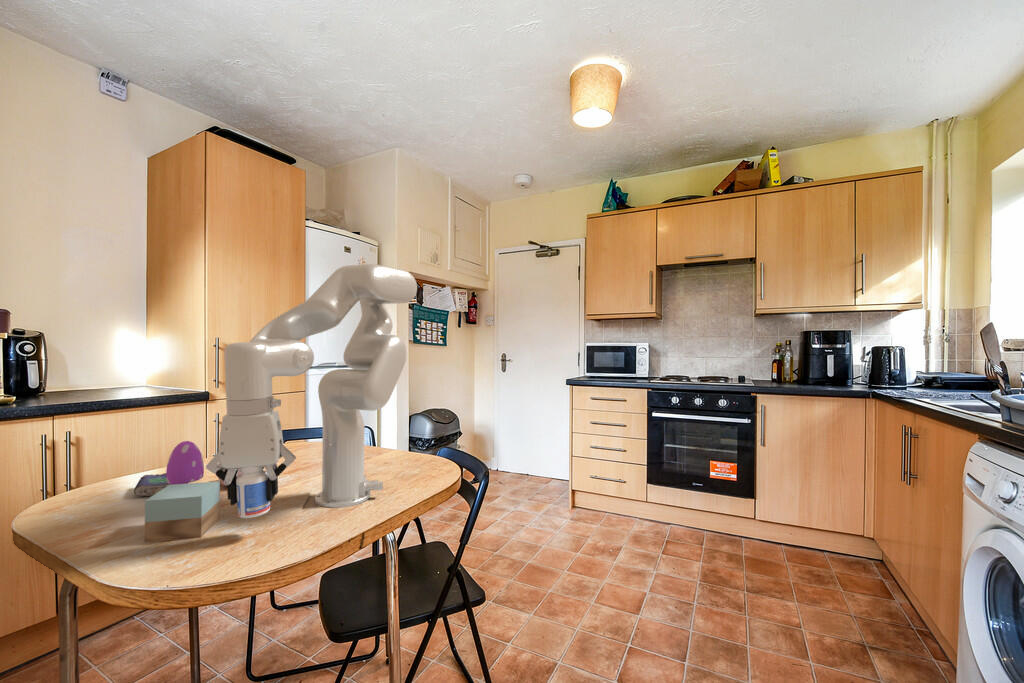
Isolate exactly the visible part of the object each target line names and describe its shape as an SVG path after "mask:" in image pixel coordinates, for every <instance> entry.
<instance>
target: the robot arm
mask: <svg viewBox="0 0 1024 683" xmlns="http://www.w3.org/2000/svg"><path fill="white" fill-rule="evenodd" d="M417 284H418V283H417V280H416V278H415V277H414V276H413V274H411V273H410V272H409V271H406V270H404V269H398V268H394V267H389V266H385V265H382V264H375V263H366V264H353V265H344V266H341V267H339V268H337V269H336V270H335V271H334V272H333V273H331V275H330V276H329V277H327V279H326V280H324V282H323V283H322V284H321V285H320V286H319V287H318V288H317V289H316V291H314V293H312V294H311V296H310V297H308V298H307V299H306V300H304V302H301V303H299V304H298V305H296V306H294V307H292V308H291V309H288V310H287V311H285V312H284V313H282V314H279V315H278V316H277V317H275V318H273V319H272V320H271V321H269V322H268V323H266V324H265V325H264V326H263V327H262V328H261V329H260V330H259V331H258V332H257V333H256V334H255V335H254V336H253V337H252V338H251V339H250V340H249V341H242V342H232V343H229V344H228V345H226V346H225V347H224V348H225V349H224V374H225V376H224V378H225V398H226V400H225V401H226V405H225V406H226V414H224V416H222V420H221V424H220V433H219V440H218V452H217V453H216V454H214V456H213V458H211V459H210V461H209V462H207V464H206V465H205V468H206V470H208V471H209V472H211V473H213V474H214V475H215V476H216V477H217V478H218V477H219V478H220V479H222V480H223V481H224V483H225V484H226V485H227V486H226V488H227V490H226V491H227V500H229V502H230V506H235V505H237V491H236V479H237V474H238V471H239V469H241V468H245V467H263V466H264V470H265V471H266V472H267V474H268V476H269V477H268V481H267V483H266V484H267V501H270V502H272V501H273V500H274V498H275V496H276V495H278V493H279V481H278V480H279V479H278V478H279V476H281V474H282V473H283V472H284V471H285V470H286V469H287V468H288V467H289V466H290V465H291V464H293V463H294V462H295V461H296V459H297V457H296V455H295V454H294V453H293V452H292V451H291V450H290V449H288V447H286V446H285V445H284V438H283V429H282V423H281V420H280V415H279V412H278V410H274V409H275V408H277V407H281V405H282V400H281V399H277V398H275V397H274V395H273V377H274V378H275V377H296V376H300V375H303V374H305V373H306V372H308V371H309V370H310V369H311V368H312V366H313V363H314V360H315V356H314V355H315V354H314V352H313V349H312V347H311V346H310V345H308V344H307V343H306V342H303V341H301V340H303V339H305V338H308V337H311V336H314V335H317V334H318V335H319V334H321V333H324V332H326V331H329V330H332V329H334V328H336V327H337V326H339V324H340V323H341V322H343V319H345V317H346V316H347V315H348V314H349V313H350V311H351V310H352V309H353V308H354V306H355V305H356V304H357V303H358V302H359V304H360V309H361V318H360V320H359V322H358V325H357V327H356V329H355V330H354V331H353V333H352V336H351V337H350V339H349V341H348V342H347V345H346V347H345V349H344V351H343V358H342V359H343V362H344V364H345V365H346V366H347V367H348V369H347V368H339V369H333V370H330V371H328V372H326V373H325V374H324V375H323V376H322V377H321V378H320V381H319V383H318V387H317V389H318V391H317V394H318V398H319V404H320V408H321V410H320V411H321V416H322V418H321V419H322V420H321V421H322V451H321V452H322V455H321V456H322V465H321V466H322V467H321V468H322V469H321V471H322V472H321V473H322V476H321V481H322V485H321V491H320V492H318V493H317V494H316V495H315V497H314V503H315V504H316V505H317V506H320V507H324V508H329V507H330V508H331V509H332V508H333V509H334V508H335V509H337V508H348V506H349V507H353V505H354V506H357V505H360V504H363V503H364V501H365V502H366V501H368V499H370V497H371V491H382V490H384V489H383V488H384V481H379V480H378V479H374V480H369V479H367V474H366V475H365V434H366V432H365V429H366V428H365V421H364V419H363V415H362V413H361V411H370V412H372V411H373V412H375V411H379V410H381V409H382V408H384V407H385V406H386V405H387V404H388V402H389V401H390V398H391V396H392V395H393V392H394V389H395V388H396V385H397V384H398V380H399V378H400V377H401V374H402V372H403V370H404V367H405V363H406V362H407V361H406V360H407V347H406V346H407V345H406V344H405V341H404V340H403V339H402V338H401V337H400V336H397V335H395V334H391V333H392V331H393V320H392V317H391V315H390V314H389V312H388V309H387V306H386V305H392V304H394V305H395V304H407V303H411V302H412V301H413V300H414V299H415V297H416V295H417V292H418V285H417ZM282 457H283V459H284V460H283V462H281V463H280V464H279V465H277V464H278V462H279V460H280V459H281V458H282ZM219 464H220V465H219ZM227 469H228V470H227ZM219 478H218V479H219Z"/></svg>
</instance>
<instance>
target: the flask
mask: <svg viewBox="0 0 1024 683" xmlns="http://www.w3.org/2000/svg"><path fill="white" fill-rule="evenodd" d="M168 485H175V484H169V483H167V480H166V472H165V473H164V472H163V473H161V474H159V473H156V474H144V475H143V476H141V477H140V478H139V480H138V482H137V484H136V485H135V487H134V488H133V493H134V494H135V495H136V496H141V497H143V496H144V497H151V496H153V495H155V494H156V493H158V492H159V491H161V490H162V489H164V488H165V487H167V486H168Z"/></svg>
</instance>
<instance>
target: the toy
mask: <svg viewBox="0 0 1024 683" xmlns="http://www.w3.org/2000/svg"><path fill="white" fill-rule="evenodd" d="M166 464H167V466H166V471H165V473H166V480H167V483H169V484H189V483H195V482H198V481H199V480H201V479H203V478H204V475H205V474H204V472H205V465H204V459H203V455H202V452H201V450H200V449H199V447H198V446H197V445H196V444H195V443H194V442H192V441H190V440H185V441H181V442H179V443H178V444H177V445H176V446H175V447H173V449H172V452H171V453H170V455H169V457H168V461H167V463H166Z"/></svg>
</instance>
